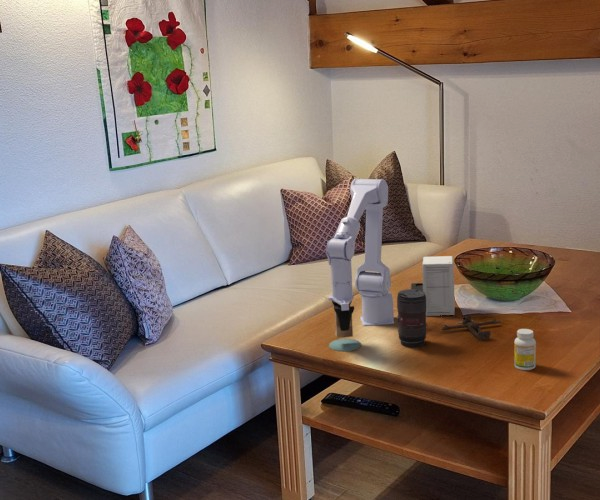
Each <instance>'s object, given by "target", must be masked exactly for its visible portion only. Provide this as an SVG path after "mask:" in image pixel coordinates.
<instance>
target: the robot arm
mask: <svg viewBox="0 0 600 500" xmlns="http://www.w3.org/2000/svg"><path fill="white" fill-rule="evenodd" d="M350 196H351V202H350V205H349V208H348V210H347V215H346V216H345V217H343V218H341V220H340V222H339V224H338V226H337V229H336V232H335V234H334V236H333V238H331V239H329V240H328V241H327V243H326V248H325V254H326V257H327V259H328V260H327V261H328V262H327V263H328V265H329V266H330V276H331V277H330V279H331V281H330V282H331V295H328V296H327V300H329V301H331V303H332V305H333V309H334V313H335V312H336V314H337V316H338V319H339V324H340V328H341V331H346V330H349V326H350V320H351V316H352V317H353V313H354V310H355V306H354V305H352V306H351V304H352V301H353V300H354V295H353V292H354V291H353V273H352V259H353V257H354V255H355V248H356V247H355V246H356V239H357V237H358V236H357V235H358V233H359V232H360V229H361V224H360V223H359V222H360V219H361V218H362V216H363V213H364V211H365V236H364V237H365V239H364V241H365V242H364V243H365V245H364V262H363V263H361V264H360V265H359V266H358V267H357V268H356V272H355V273H356V274H355V278H354V287H355V289H356V291H357V292H358V293H359V295H361V313H362V315H360V317H359V319H360V322H361V324H362V326H363V327H367V326H368V327H369V326H383V325H384V326H385V325H394V324H395V320H394V319H395V318H394V316H395V315H394V297H393V294H392V292H389V291H390V290H391V286H392V278H391V269H390V268H389V267H388V266H387V265H386V264H384V263H383V262H382V246H383V245H382V243H383V242H382V240H383V215H384V214H383V213H384V208H385V207H387V206H388V202H389V186H388V184H387V181H386V180H385V179H384V178H381V179H380V178H379V179H378V178H377V179H373V178H357V177H356V178H354V179H353V180H352V181H351V182H350Z"/></svg>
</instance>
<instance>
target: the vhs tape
mask: <svg viewBox="0 0 600 500" xmlns="http://www.w3.org/2000/svg"><path fill="white" fill-rule="evenodd" d="M410 289H417V290H421V291H423V282H417V283H416V282H415V283H414V282H413V283H411V285H410Z"/></svg>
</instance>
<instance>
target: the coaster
mask: <svg viewBox="0 0 600 500" xmlns="http://www.w3.org/2000/svg"><path fill="white" fill-rule="evenodd" d="M361 345H362V343H361V342H360V341H359V340H357V339H353V338H338V339H335V340H332V341H331V342H330V343H328V347H329V349H331V350H333V351H337V352H350V351H355V350H357V349H359V348H360V347H361Z"/></svg>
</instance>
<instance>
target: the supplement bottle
mask: <svg viewBox="0 0 600 500" xmlns="http://www.w3.org/2000/svg"><path fill="white" fill-rule="evenodd" d="M516 336H517V337H516V338H515V339H514V344H513V345H514V346H513V347H514V348H513V349H514V350H513V353H514V354H513V356H514V357H513V361H514V362H513V364H514V365H513V366H514V367H515V369H517V370H521V371H531V370H533V369H535V368H536V365H537V363H536V362H537V357H536V356H537V341H536V339H535V338H534V336H535V335H534V331H533V330H532V329H529V328H520V329H518V330H517V331H516Z"/></svg>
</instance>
